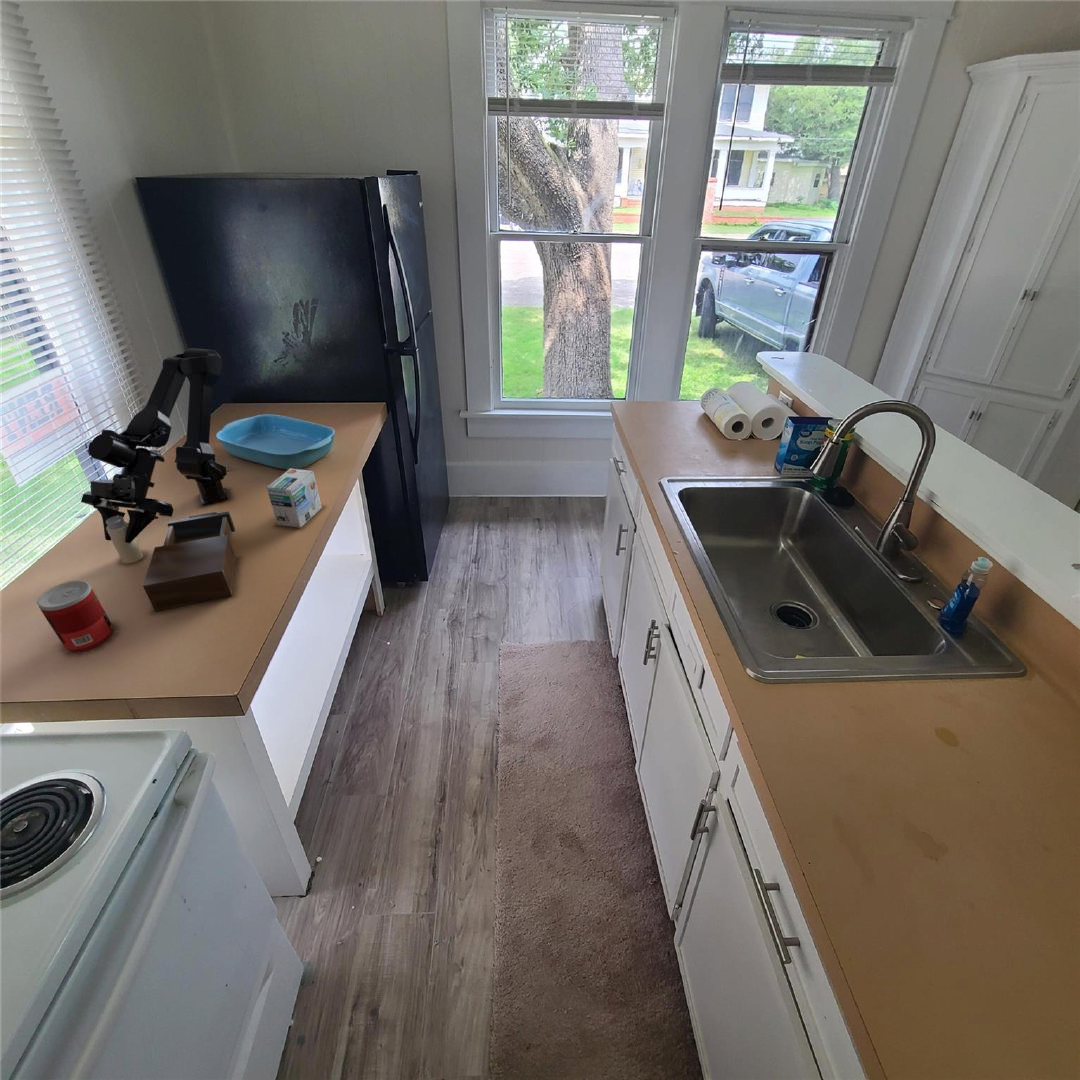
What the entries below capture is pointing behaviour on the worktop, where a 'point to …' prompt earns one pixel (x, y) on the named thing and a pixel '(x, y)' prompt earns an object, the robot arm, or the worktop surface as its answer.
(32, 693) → the worktop surface
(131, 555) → the grey-lidded cream jar
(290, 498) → the light bulb box
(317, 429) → the casserole dish
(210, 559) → the cabinet
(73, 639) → the canned food
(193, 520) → the drawer
